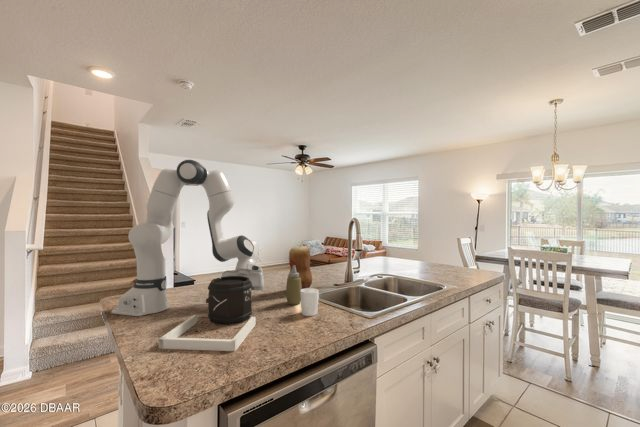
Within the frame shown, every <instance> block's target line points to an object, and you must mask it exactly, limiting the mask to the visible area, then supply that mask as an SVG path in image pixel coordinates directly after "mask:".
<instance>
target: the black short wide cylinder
mask: <svg viewBox="0 0 640 427" xmlns="http://www.w3.org/2000/svg"><path fill="white" fill-rule="evenodd" d="M251 287H252V282H251V281H250V279H249V278H248V277H244V276H226V277H216V278H213V279H212V280H210V283H209V284H208V287H207V290H208V296H207V298H206V299H205V303H206V304H207V308H208V309H207V310H208V315H207V319H209V320H210V322H211V323H212V324H215V325H218V326H232V325H237V324H242V323H245V321H249V319H250V318H251V316H252V314H253V308H252V307H253V306H252V303H253V301H252V300H253V295H252V290H251Z"/></svg>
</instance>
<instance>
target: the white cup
mask: <svg viewBox="0 0 640 427" xmlns="http://www.w3.org/2000/svg"><path fill="white" fill-rule="evenodd" d="M300 292H301V302H300V307H301V314H302V316H305V317H312V316H313V317H314V316H317V315H318V310H319V308H318V307H319V296H320V294H319V293H320V292H319V289H317V288H314V287H309V288H305V289H301V290H300Z"/></svg>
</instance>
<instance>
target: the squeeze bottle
mask: <svg viewBox="0 0 640 427" xmlns="http://www.w3.org/2000/svg"><path fill="white" fill-rule="evenodd" d="M288 275H289V278H288V277H287V278H288V279H287V278H286V285H285V286H286V287H285V299H286V301H287V304H289V305H291V306H292V305H295V306H296V305H299V304H301V292H300V290H301V289H302V286H301V278H300V277H299V273H297V271H296V267H295V265H293V267H292V272H291V273H289V272H288Z"/></svg>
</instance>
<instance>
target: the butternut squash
mask: <svg viewBox="0 0 640 427" xmlns="http://www.w3.org/2000/svg"><path fill="white" fill-rule="evenodd" d="M310 253H311V252H310V249H309V248H308V247H307V246H306V245H298V246H294V247H292V248H290V250H289V253H288V254H289V255H288V260H289V262H288V263H289V267H290V270H289V272H288V275H287V278H286V280H287V279H288V278H289V273H291V272H292V267H293V265H295V267H296V271H297V273H299V277H300V278H301V286H302V289H305V288H311V285H312V283H313V276H312V275H313V274H312V271H311V256H310V255H311V254H310Z"/></svg>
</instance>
